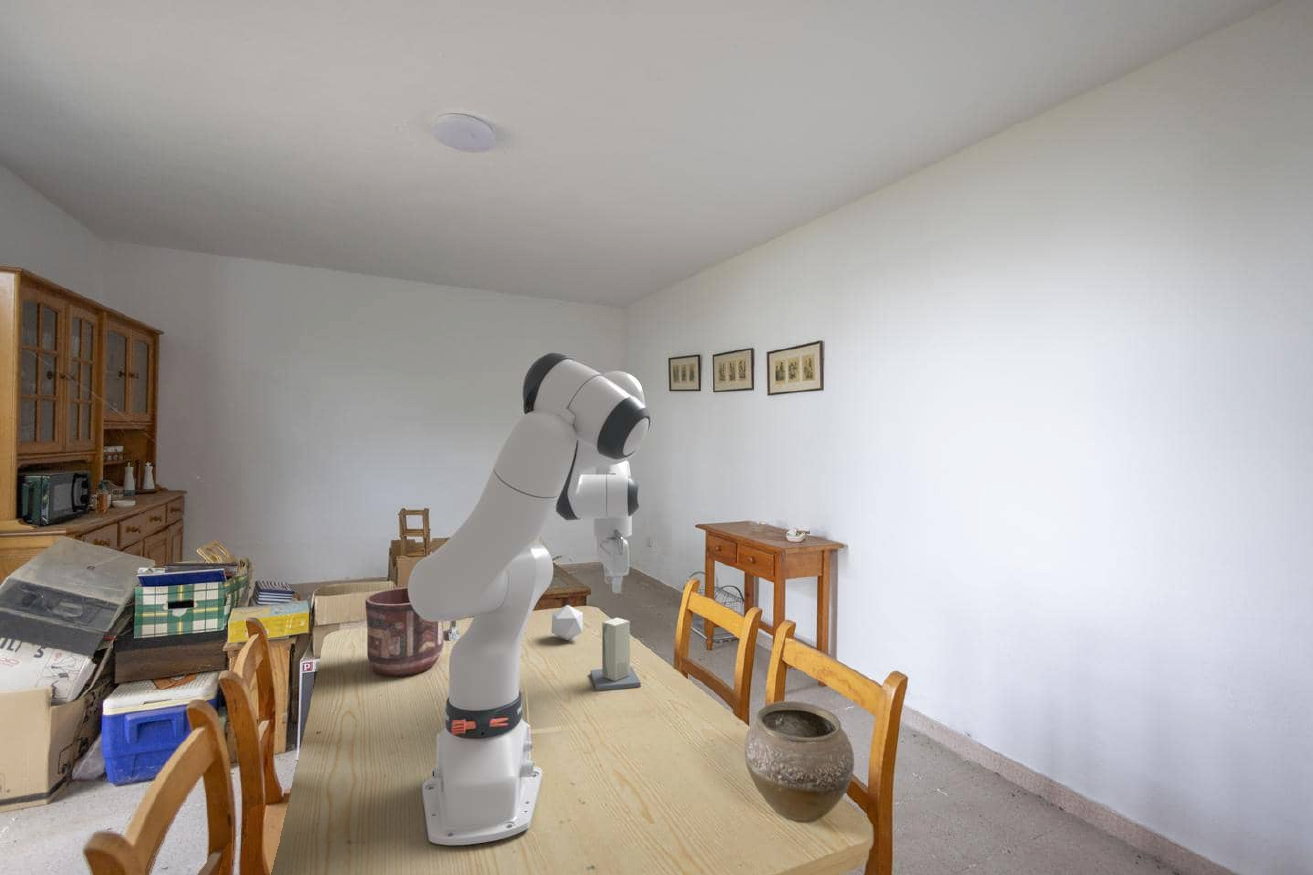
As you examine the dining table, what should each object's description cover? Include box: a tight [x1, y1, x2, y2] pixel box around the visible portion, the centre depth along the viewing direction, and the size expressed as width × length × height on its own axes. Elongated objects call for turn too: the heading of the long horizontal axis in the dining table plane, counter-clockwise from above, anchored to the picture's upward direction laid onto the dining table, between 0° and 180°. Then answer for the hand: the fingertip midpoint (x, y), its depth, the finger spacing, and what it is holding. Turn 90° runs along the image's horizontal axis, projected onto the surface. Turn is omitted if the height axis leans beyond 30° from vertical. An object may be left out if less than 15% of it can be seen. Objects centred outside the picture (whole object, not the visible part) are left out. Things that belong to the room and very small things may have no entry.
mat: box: [590, 666, 641, 692], centre depth 141 cm, size 10×10×1 cm
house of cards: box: [443, 621, 461, 642], centre depth 168 cm, size 9×9×8 cm
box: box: [601, 617, 631, 681], centre depth 140 cm, size 5×4×13 cm
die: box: [551, 604, 584, 641], centre depth 169 cm, size 8×9×10 cm
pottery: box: [365, 586, 444, 678], centre depth 147 cm, size 18×18×18 cm
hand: (612, 587), depth 141 cm, fingers open, 8 cm apart
